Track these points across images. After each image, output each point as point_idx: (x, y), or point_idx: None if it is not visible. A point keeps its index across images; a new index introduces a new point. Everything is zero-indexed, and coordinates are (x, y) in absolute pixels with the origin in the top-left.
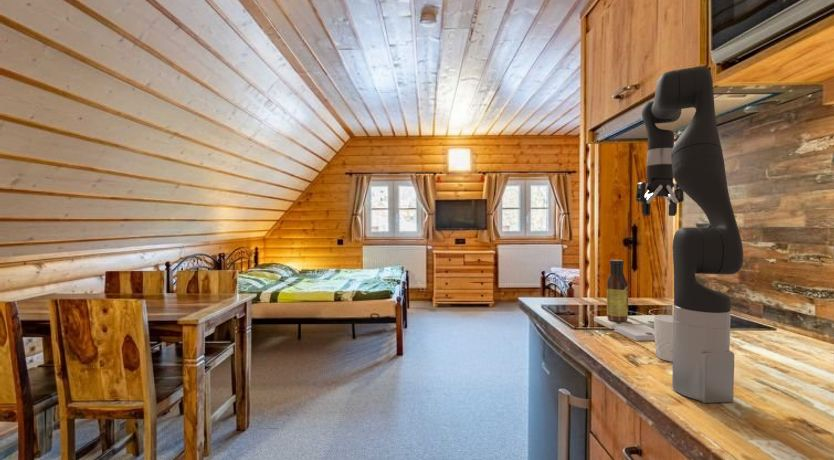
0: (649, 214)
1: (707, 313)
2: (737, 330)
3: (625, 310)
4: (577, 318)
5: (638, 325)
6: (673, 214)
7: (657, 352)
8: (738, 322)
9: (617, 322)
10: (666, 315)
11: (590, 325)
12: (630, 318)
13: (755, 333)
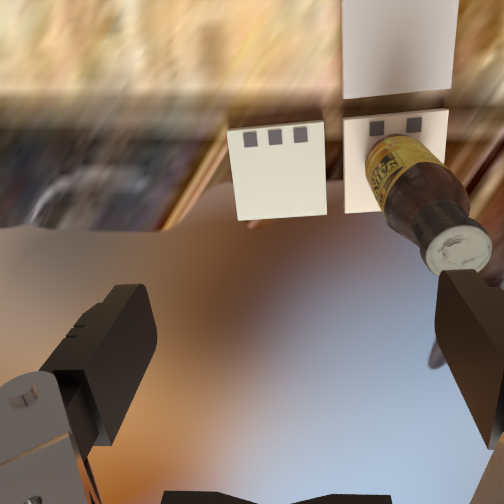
0: (453, 270)
1: None
2: (68, 95)
3: (392, 143)
4: None
5: (366, 96)
6: (138, 287)
7: None
8: (19, 181)
9: (416, 127)
10: None
11: (481, 151)
12: (325, 196)
13: (35, 63)
